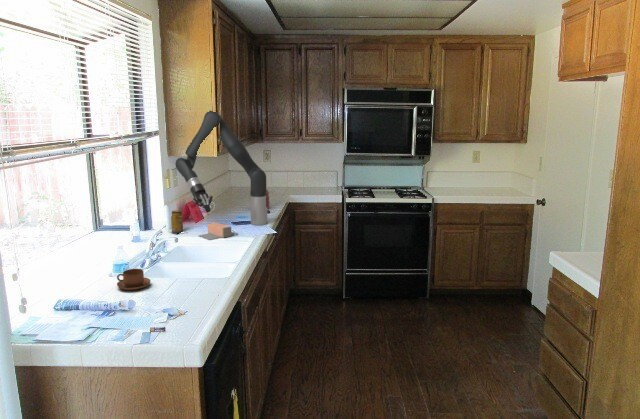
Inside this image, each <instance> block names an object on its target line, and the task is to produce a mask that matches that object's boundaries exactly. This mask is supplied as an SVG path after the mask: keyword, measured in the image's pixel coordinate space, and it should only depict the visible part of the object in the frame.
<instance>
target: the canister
mask: <svg viewBox="0 0 640 419" xmlns="http://www.w3.org/2000/svg"><path fill="white" fill-rule="evenodd" d="M266 208H267V210H269V209H270V191H269V188H268V187H267V186H266Z"/></svg>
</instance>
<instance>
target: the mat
mask: <svg viewBox="0 0 640 419" xmlns="http://www.w3.org/2000/svg"><path fill="white" fill-rule="evenodd" d="M235 233H236V234H237V235H238V233H237V232H233V231H231V235H232V236H235V235H234V234H235ZM198 236H199V238H201V237H202V239H205V240H207V241H208V240H209V241H212V240H218V239H222V238H224V237H221V236H217V235H214V234H211V233H208V232H207V233H205V234H199V235H197V237H198Z"/></svg>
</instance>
